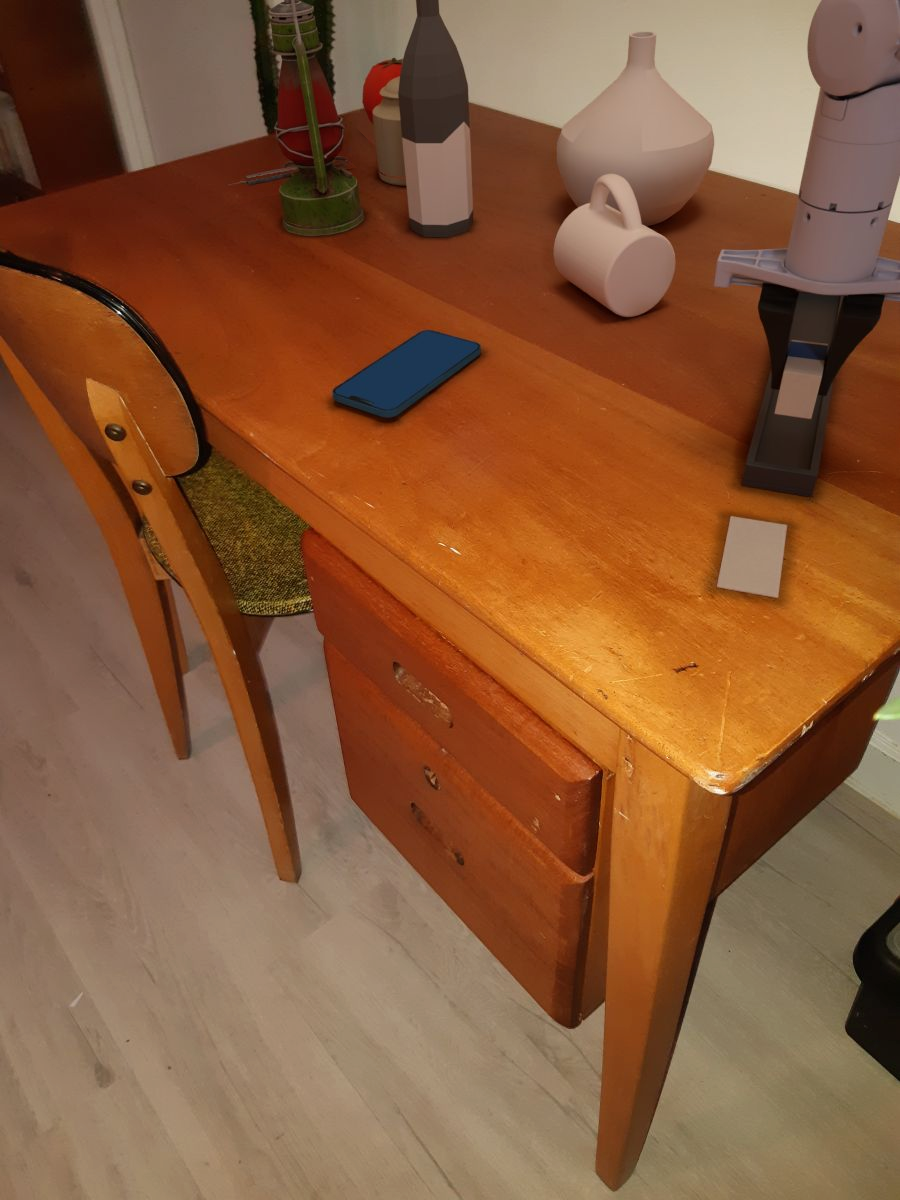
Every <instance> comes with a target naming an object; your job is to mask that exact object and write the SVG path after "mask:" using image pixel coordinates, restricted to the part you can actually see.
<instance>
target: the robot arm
mask: <svg viewBox="0 0 900 1200" xmlns="http://www.w3.org/2000/svg"><path fill="white" fill-rule="evenodd" d="M806 45H807V47H806V48H807V49H806V51H807V62H808V66H809V69H810V73H811V75H812V77H813V80H814V81H815V82H816V84H817V85H818V87H819V91H818V95H817V100H816V101H817V102H816V106H815V111H814V114H813V115H814V116H813V121H812V126H811V131H810V137H809V140H808V146H807V151H806V156H805V159H804V165H803V170H802V174H801V179H800V184H799V189H798V196H797V200H796V205H795V210H794V215H793V220H792V225H791V229H790V234H789V239H788V244H787V248H786V247H785V248H767V249H766V248H765V249H742V250H740V249H724V248H722V249H721V251H720V253H719V255H718V257H717V260H716V266H715V271H714V278H713V287H714V288H721V289H722V288H723V289H727V288H729V287H730V286H731V285H733V286H743V287H752V288H753V287H755V288H761V290H760V291H761V292H760V295H759V299H758V303H757V311H758V317H759V320H760V322H761V325H762V327H763V330H764V334H765V337H766V340H767V346H768V351H769V357H770V370H771V372H772V377H771V389H776V390H780V386H781V381H782V377H783V372H784V368H785V363H786V358H787V354H788V346H789V338H790V332H791V327H792V323H793V318H794V314H795V309H796V305H797V300H798V296H799V291H802V292H809V293H814V294H821V295H841V296H843V299H842V303H841V307H840V311H839V315H838V319H837V323H836V327H835V331H834V335H833V339H832V342H831V345H830V347H829V350H828V353H827V356H826V360H825V364H824V369H823V374H822V379H821V383H820V386H819V390H818V394H817V395H821V396H827V393H828V390H829V388H830V386H831V384H832V382H833V383H834V381H833V380H835V378H836V376H837V375H838V373H839V371H840V370H841V368H842V367H843V365H844V364H845V362H846V361H847V359H848V358H849V357H850V355H851V354H852V352H854V350H855V349H856V348H857V346H859V345H860V343H861V342H862V341H863V340H864V339H865V338H866V337H867V336H868V335H869V334H870V333H871V332H872V331H873V330H874V328H875V327H876V326H877V324H878V323H879V321H880V318H881V317H882V311H883V310H882V309H883V305H884V302H885V301H892V302H900V260H896V259H891V258H887V257H884V256H883V257H882V256H879V255H880V250H881V247H882V243H883V240H884V237H885V232H886V229H887V225H888V221H889V217H890V213H891V211H892V207H893V204H894V200H895V196H896V192H897V188H898V184H899V182H900V0H820V2H819V4H818V5H817V7H816V9H815V11H814V13H813V16H812V18H811V22H810V26H809V29H808V36H807V44H806Z"/></svg>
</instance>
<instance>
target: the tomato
mask: <svg viewBox="0 0 900 1200" xmlns="http://www.w3.org/2000/svg"><path fill="white" fill-rule="evenodd" d="M402 60H403V58H401V59H397V58H396V57H392V58H391V59H385V60H382V61H380V62H377V63H376V64H374V65H372V67H371V68H370V70H369V72H368V74H367V76H366V77H365V79H364V83H363V85H362V100H361V101H362V105H363V106H362V107H363V108H364V111H365V113H366V115H367V118H368V120H369V122H370V123H371V125H373V114H372V112H373V109H374V108H375V107H376V106H378V105H379V104H380V103H381V102H382V100H383V96H382V95H380V91H381V89H382V88H383V87H385V86H386V85H387V84H388V82H390V81H391V80H392V79H394V78H397V77H399V76H400V72H401V67H402V66H401V65H402Z"/></svg>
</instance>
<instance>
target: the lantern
mask: <svg viewBox="0 0 900 1200" xmlns="http://www.w3.org/2000/svg"><path fill="white" fill-rule="evenodd" d="M314 10H315V9H314V6H313V5H312V4H309V3H306V2H305V1H301V0H283V1H281V2H279V3H278V4H276V5H275V6H273V7H271V8H270V9H269V10H268V16H270V17H271V19H270V27H271V39H272V45H273V46H272V48H271V53H272V54H273V55H277V56H280V58H281V63H280V64H281V65H280V71H279V78H278V89H277V90H278V91H277V120H276V122H275V125H274V127H273V129H274V130H275V133H276V135H275V140H277V141H278V146H279V149H280V151H281V154H282V155H283V156H284V157H285V158H286V159H288V160H289V161H293V163H294V165H293V166H296V167H297V168H298V170H299V171H298V172H296V173H295V174H294V175H293V176H292V177H289V178H287V179H286V180H285V181H284V182H283V183H281V185H280V186H279V190H278V194H279V198H280V203H281V209H282V215H283V218H282V228H284V229H285V230H286V231H287V232H288V233H292V234H295V235H298V236H309V237H319V236H320V237H321V236H330V235H335V234H338V233H339V234H340V233H343V232H346V231H349V230H351V229H354V228H355V227H358V225H360V224H361V223H362V222H363V221H364V220H365V219H364V217H365V213H364V208H363V207H361V200H360V199H361V198H360V192H359V185H358V184H359V183H358V179H357V178H356V177H355V176H353V173H352V172H350V171H349V170H347V169H346V168H343V167H340V169H339V168H335V167H333V164H334V162H336V161H335V157H338V156H339V154H340V153H341V152H342V151H343V146H344V145H343V144H344V129H346V128H345V125H344V124H343V118H342V117H341V116H339V114H338V111H337V107H336V104H335V101H334V98H333V94H332V92H331V89H330V86H329V84H328V81H327V79H326V76H325V73H324V71H323V69H322V67H321V65H320V63H319V61H318V59H317V57H316V52H318V51H320V50H322V49H323V43H322V42H320V39H319V31H318V27H317V24H316V16H315V15H314V14H313V12H314ZM284 217H285V218H284ZM287 221H288V222H290V223H288V222H287ZM291 223H293V224H291ZM294 224H297V225H301V226H297V225H294ZM306 226H311V227H306Z"/></svg>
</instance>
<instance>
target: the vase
mask: <svg viewBox="0 0 900 1200" xmlns="http://www.w3.org/2000/svg"><path fill="white" fill-rule="evenodd" d="M656 44H657V33H656V32H654V31H635V32H631V33H629V35H628V49H627V61H626V65H625V67H624V69H623V70H622V71H621V73H620V74H619V76H618V77H617V78H616V79H615V80H614V81H613V82H612V83H611V84H609V85H608V86H607V87H606V88H605V89H604V90H602V91H601V93H600V94H598V95H597V96H596V97H595V98H594V99H593V100H592V101H591V102H590V103H588V104H587V105H586V106H585V107H583V108H582V109H581V110H580V111H579V112H577V114H575V115H574V116H572V118H571V119H569V120H568V121H567V122H565V123H564V124H563V125H562V128H561V131H560V133H559V136H558V139H557V141H556V165H557V168H558V171H559V174H560V177H561V180H562V182H563V186H564V188H565V191H566V193H567V195H568V197H570V199H571V200H572V201H573V203H574V204H575V206H576V207H577V208H579V207H580V206H582V205H585V204H588V203H590V201H591V194H592V190H593V187H594V184H595V183H596V181H597V180H598V179H599V178H600V177H601V176H603V175H606V174H616V175H619V176H621V177H623V178H624V179H625V180H626V181H627V182H628V183H629V185H630V186H631V188H632V190H633V192H634V195H635V198H636V201H637V204H638V208H639V212H640V217H641V223H642V224H643V225H644V226H646V227H649V226H654V225H657V224H660V223H662V222H664V221H666V220H667V219H669V218H671V217H672V216H674V215H675V214H676V213H678V212H679V211H680V210H681V209H682V208H684V206H685V205H686V204H687V203H688V202H689V200H690V199H691V198H692V197H693V196H694V195H695V194H696V193H697V191H698V190H699V188H700V187H701V184H702V182H703V181H704V179H705V176H706V175H707V173H708V170H709V168H710V167H711V165H712V161H713V155H714V149H715V136H714V135H715V134H714V131H713V125H712V124H711V122H709V120H708V119H707V118H706V117H704V115H702V114H701V113H700V112H699V111H698V110H697V109H695V108H694V107H693V106H692V105H691V104H690V103H689V102H688V101H687V100H685V99H684V98H683V97H682V96H681V95H680V94H679V93H678V92H677V91H676V90H675V89H674V88H673V87H672V86H671V85H670V84H669V82H667V81H666V80H665V79H664V78H663V77H662V75H661V74H660V71H659V70H658V68H657V67H656V63H655V62H656V61H655V57H656V56H655V55H656ZM606 205H608V206H610V207H612V208H614V209H616V210H617V211H619V212H620V209H619V207H618V205H617V203H616V201H615V199H614V197H613V195H612V194H611V192H610V191H609V193H608V196H607V200H606Z"/></svg>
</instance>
